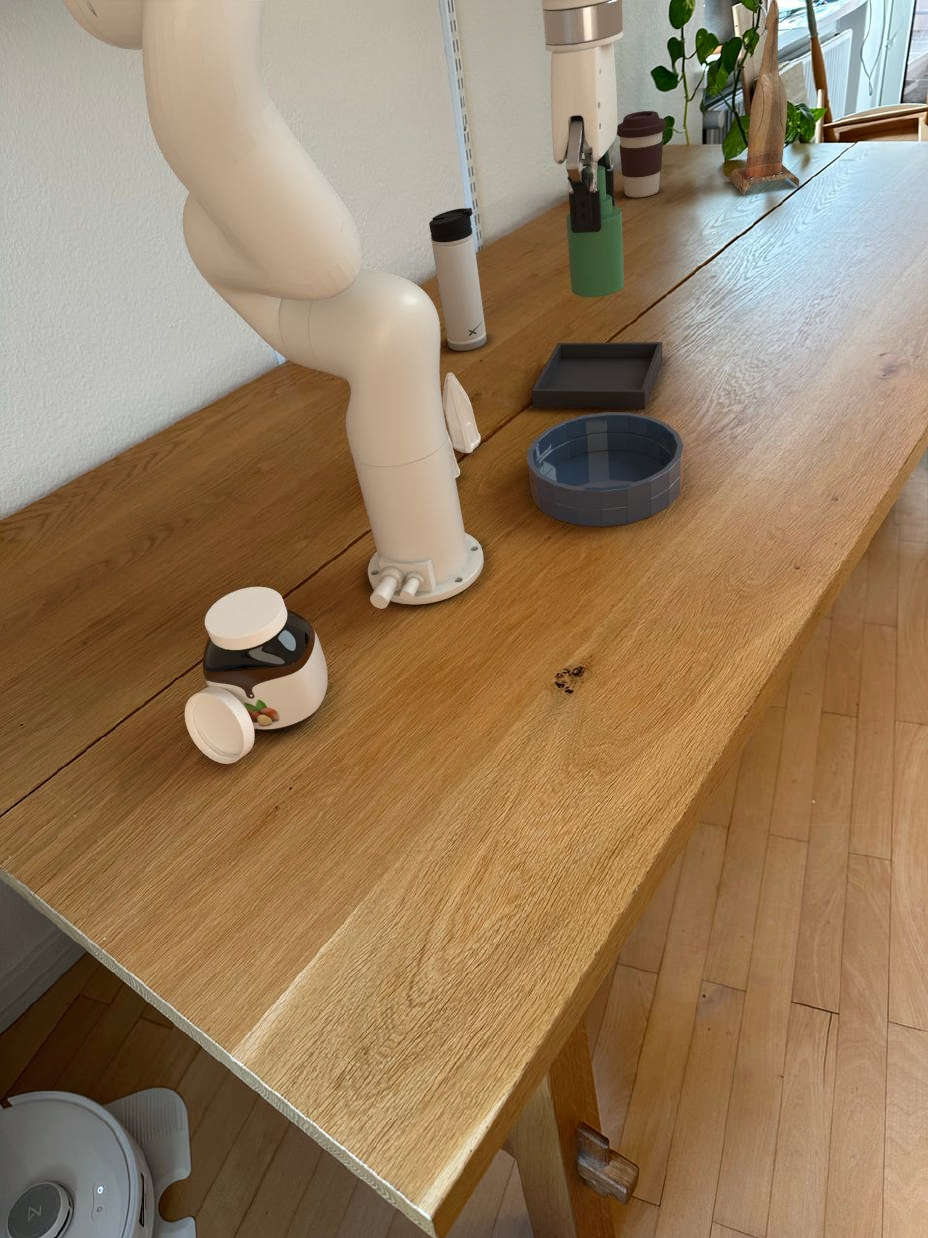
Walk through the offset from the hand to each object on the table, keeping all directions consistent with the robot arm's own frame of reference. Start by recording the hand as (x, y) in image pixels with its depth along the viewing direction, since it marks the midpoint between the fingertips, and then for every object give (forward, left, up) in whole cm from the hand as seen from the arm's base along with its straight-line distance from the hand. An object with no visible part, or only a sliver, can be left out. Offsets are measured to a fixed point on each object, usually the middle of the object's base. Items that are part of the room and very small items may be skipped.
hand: (593, 218), depth 95 cm
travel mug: (+27, +27, -26) cm, 46 cm away
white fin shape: (-9, +17, -26) cm, 33 cm away
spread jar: (-55, +20, -26) cm, 64 cm away
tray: (+13, +3, -26) cm, 29 cm away
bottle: (0, 0, -7) cm, 7 cm away
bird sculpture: (+103, -13, -26) cm, 107 cm away
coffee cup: (+103, +12, -26) cm, 107 cm away
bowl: (-13, -3, -26) cm, 29 cm away
